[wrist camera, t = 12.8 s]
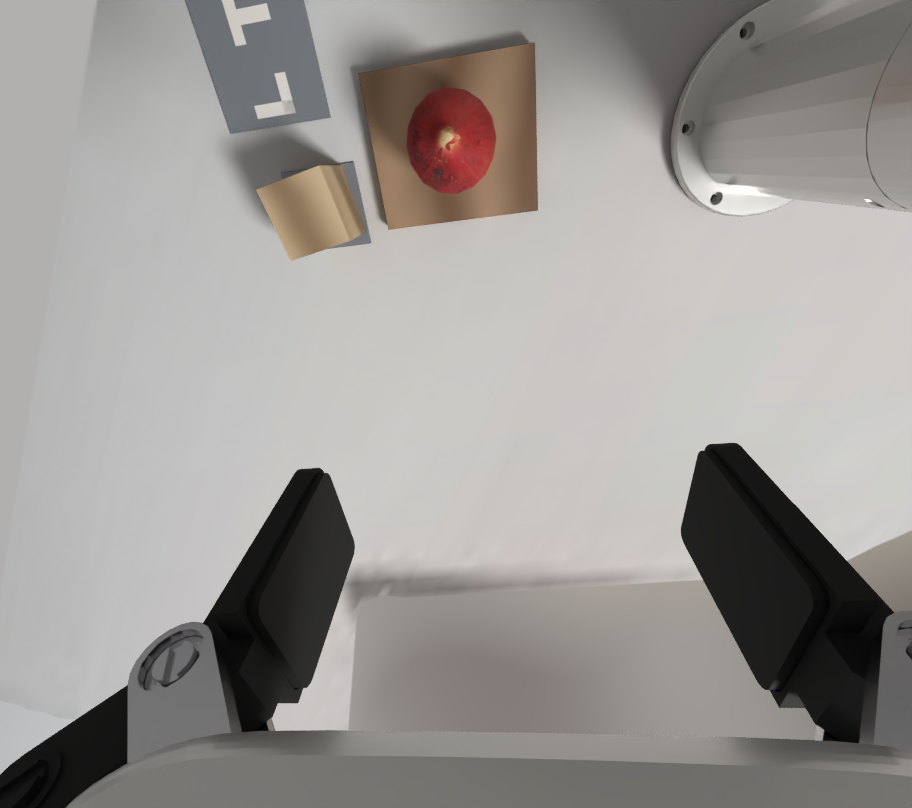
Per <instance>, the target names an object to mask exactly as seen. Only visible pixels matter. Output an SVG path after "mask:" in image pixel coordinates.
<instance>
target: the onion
mask: <svg viewBox="0 0 912 808" xmlns="http://www.w3.org/2000/svg"><path fill="white" fill-rule="evenodd" d="M496 138H497V137H496V132H495V127H494V123H493V118H492V116H491V114H490V113H489V111H488V110H487V108H486V107H485V105H484V104H483V102H482V101H481V100H480V99H479V98H477V97H476V96H474V95H473V94H471V93H470V92H468V91H467V90H465V89H457V88H450V87H444V88H442V89H439V90H436V91H433V92H430V93H428V94H427V95H426V96H425V98H424V99H423V100H422V101H421V102H420V103H419V104H418V105H417V106H416V107H415V109H414V112H413V114H412V117H411V120H410V122H409V125H408V131H407V142H406V147H407V151H408V155H409V159H410V163H411V166H412V167H413V169H414V170H415V172H416V173H417V175H418V176H419V178H420V179H421V181H422V182H423V183H424V184H426V185H427V186H429V187H431V188H432V189H434V190H435V191H437V192H439V193H449V194H458V193H461V192H463V191H465V190H468V189H470V188H472V187H474V186H475V185H476V184H477V183H478V182H479V181H480V180H481V179H482V178H483V177H484V176H485V175H486V173H487V171H488V169H489V166H490V164H491V162H492V160H493V158H494V152H495V145H496Z"/></svg>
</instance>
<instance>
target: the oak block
mask: <svg viewBox="0 0 912 808" xmlns="http://www.w3.org/2000/svg"><path fill="white" fill-rule="evenodd" d="M256 191H257V193H258V195H259V197H260V199H261V201H262V203H263V205H264V207H265V209H266V211H267V213H268V215H269V217H270V219H271V222H272V224H273V226H274V228H275V230H276V232H277V234H278V236H279V238H280V240H281V242H282V244H283V246H284V248H285V250H286V252H287V254H288V256H289V258H290V260H291V261H292V260H295V259H298V258H301V257H304V256H307V255H310V254H313V253H316V252H319V251H322V250H325V249H328V248H331V247H334V246H337V245H340V244H343V243H345V242H348V241H351V240H353V239H354V238H356V237H358V236H360V235H361V234H363V233H365V232H367V230H366V228H365V225H364V222H363V220H362V217H361V215H360V212H359V209H358V207H357V204H356V202H355V199H354V196H353V194H352V191H351V189H350V186H349V184H348V181H347V178H346V176H345V173H344V171H343V168H342V165H319V166H316V167H314V168H311V169H308V170H306V171H303V172H301V173H298V174H295V175H293V176H290V177H288V178H285V179H282V180H280V181H277V182H275V183H272V184H270V185H267V186H264V187H262V188H259V189H257V190H256Z"/></svg>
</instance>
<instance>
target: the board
mask: <svg viewBox="0 0 912 808" xmlns="http://www.w3.org/2000/svg"><path fill="white" fill-rule="evenodd" d="M358 74H359V80H360V85H361V90H362V95H363V100H364V105H365V111H366V116H367V121H368V126H369V131H370V136H371V142H372V147H373V152H374V157H375V162H376V167H377V173H378V178H379V183H380V188H381V193H382V199H383V204H384V209H385V214H386V219H387V224H388V230H389V229H397V228H405V227H413V226H420V225H428V224H436V223H444V222H452V221H459V220H467V219H475V218H483V217H490V216H498V215H506V214H514V213H521V212H529V211H537V210H538V191H537V136H536V80H535V43H529V44H523V45H518V46H512V47H506V48H501V49H495V50H489V51H484V52H478V53H472V54H467V55H461V56H455V57H449V58H444V59H438V60H432V61H427V62H421V63H415V64H410V65H404V66H398V67H393V68H387V69H381V70H375V71H370V72H364V73H358ZM444 87H450V88H457V89H465V90H467V91H468V92H470V93H471V94H473V95H474V96H476V97H477V98H479V99H480V100H481V101H482V102H483V104H484V105H485V107H486V108H487V110H488V111H489V113H490V114H491V116H492V118H493V123H494V127H495V132H496V137H497V138H496V145H495V152H494V158H493V160H492V162H491V164H490V166H489V169H488V171H487V173H486V175H485V176H484V177H483V178H482V179H481V180H480V181H479V182H478V183H477V184H476V185H475V186H474V187H472V188H470V189H468V190H465V191H463V192H461V193H458V194H449V193H439V192H437V191H435V190H434V189H432V188H431V187H429V186H427V185H426V184H424V183H423V182H422V181H421V179H420V178H419V176H418V175H417V173H416V172H415V170H414V169H413V167H412V166H411V163H410V159H409V155H408V151H407V147H406V142H407V131H408V125H409V122H410V120H411V117H412V114H413V112H414V109H415V107H416V106H417V105H418V104H419V103H420V102H421V101H422V100H423V99H424V98H425V96H426V95H427V94H428V93H430V92H433V91H436V90H439V89H442V88H444Z"/></svg>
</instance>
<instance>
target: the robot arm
mask: <svg viewBox="0 0 912 808" xmlns="http://www.w3.org/2000/svg"><path fill="white" fill-rule="evenodd" d="M740 30H742V31H743V36H742V38H741V37H740ZM683 125H686V128H687V129H686V131H685V132H684V133H682V127H683ZM671 157H672V162H673V168H674V172H675V174H676V177H677V179H678V181H679V184H680V186H681V187H682V189H683V190H684V191H685V193H686V194H687V195H688V197H689V198H690V199H692V200H693V201H694V202H695V203H697V204H698V205H699V206H700V207H703V208H705V209H707V210H709V211H711V212H714V213H718V214H722V215H728V216H740V217H742V216H751V215H759V214H762V213H765V212H768V211H772V210H775V209H777V208H780V207H782V206H784V205H786V204H788V203H790V202H792V201H794V200H804V201H813V202H822V203H831V204H841V205H850V206H859V207H868V208H877V209H886V210H895V211H904V212H912V0H770V1H768V2H766V3H764V4H762V5H760V6H759V7H757V8H755V9H754V10H752V11H751V12H749V13H747V14H746V15H744V16H743V17H741V18H740V19H739V20H737V21H736V22H735V23H734V24H733V25H732V26H730V27H729V28H728V29H727V30H726V31H725V32H723V33H722V34H721V35H720V36H719V37H718V39H717V40H716V41H715V42H714V43H713V44H712V45H711V47H710V48H709V49H708V50H707V51H706V52H705V54H704V55H703V57H702V58H701V60H700V61H699V63H698V64H697V66H696V67H695V69H694V70H693V72H692V73H691V75H690V77H689V79H688V81H687V83H686V85H685V87H684V89H683V92H682V94H681V96H680V99H679V102H678V105H677V109H676V112H675V115H674V120H673V126H672V132H671ZM712 195H714V198H713V200H712V201H710V198H711V196H712ZM681 536H682V540H683V542H684V544H685V546H686V548H687V550H688V552H689V554H690V556H691V558H692V560H693V561H694V563H695V565H696V567H697V569H698V571H699V573H700V575H701V577H702V578H703V580H704V582H705V584H706V586H707V588H708V590H709V592H710V593H711V595H712V597H713V599H714V601H715V603H716V605H717V607H718V609H719V610H720V612H721V614H722V616H723V618H724V620H725V622H726V624H727V625H728V627H729V629H730V631H731V633H732V635H733V637H734V639H735V641H736V642H737V644H738V646H739V648H740V650H741V652H742V654H743V655H744V657H745V659H746V661H747V663H748V665H749V667H750V669H751V671H752V672H753V674H754V676H755V678H756V680H757V682H758V683H759V684H760V686H761V687H762V688H764V689H765V690H770V692H771V693H772V695H773V697H774V699H775V701H776V702H777V704H778V706H779V708H806V709H807V711H808V712H809V714H810V716H811V718H812V719H813V721H814V723H815V724H816V725H817V728H816V734H815V739H814V740H790V739H766V738H741V737H698V736H697V737H696V736H653V735H651V736H650V735H607V734H549V733H491V732H422V731H336V730H323V731H275V728H274V725H273V721H272V717H273V714H274V712H275V709H276V706H277V704H278V703H298V702H299V699H300V696H301V693H302V690H303V688H307V687H308V686H309V684H310V683H311V681H312V678H313V675H314V672H315V669H316V666H317V663H318V660H319V657H320V654H321V651H322V648H323V645H324V642H325V639H326V636H327V633H328V630H329V627H330V624H331V621H332V618H333V615H334V612H335V609H336V606H337V603H338V600H339V597H340V594H341V591H342V588H343V585H344V582H345V579H346V576H347V573H348V570H349V567H350V564H351V561H352V558H353V555H354V549H355V545H354V540H353V537H352V534H351V531H350V529H349V526H348V523H347V521H346V518H345V515H344V512H343V510H342V507H341V504H340V502H339V499H338V496H337V493H336V491H335V488H334V485H333V483H332V480H331V477H330V475H329V474H328V473H324V472H323V470H322V469H321V468H312V469H299V470H297V471H296V472H295V474H294V476H293V477H292V479H291V480H290V482H289V484H288V485H287V487H286V489H285V490H284V492H283V494H282V495H281V497H280V498H279V500H278V502H277V503H276V505H275V507H274V508H273V510H272V512H271V513H270V515H269V516H268V518H267V520H266V521H265V523H264V525H263V526H262V528H261V529H260V531H259V533H258V534H257V536H256V538H255V539H254V541H253V543H252V544H251V546H250V547H249V549H248V551H247V552H246V554H245V556H244V557H243V559H242V561H241V562H240V564H239V565H238V567H237V569H236V570H235V572H234V574H233V575H232V577H231V579H230V580H229V582H228V583H227V585H226V587H225V588H224V590H223V592H222V593H221V595H220V597H219V598H218V600H217V601H216V603H215V605H214V606H213V608H212V610H211V611H210V613H209V615H208V616H207V618H206V619H205V621H204V623H199V622H190V623H185V624H181V625H179V626H177V627H175V628H173V629H170V630H168V631H167V632H166V633H164V634H163V635H161V636H160V637H158V638H157V639H156V640H155V641H154V642H153V643H152V644H150V645H149V646H148V647H147V648H146V649H145V650H144V652H143V653H142V654H141V656H140V657H139V658H138V660H137V661H136V663H135V665H134V667H133V669H132V671H131V673H130V676H129V681H128V685H127V686H126V687H124V688H123V689H121V690H120V691H118V692H117V693H115V694H114V695H112V696H111V697H109V698H108V699H106V700H105V701H103V702H102V703H100V704H99V705H97V706H96V707H94V708H93V709H91V710H90V711H88V712H87V713H85V714H84V715H82V716H81V717H79V718H78V719H76V720H75V721H73V722H72V723H70V724H69V725H67V726H66V727H65V728H63V729H62V730H60V731H58V732H57V733H55V734H54V735H52V736H51V737H50V738H48V739H47V740H45V741H44V742H42V743H41V744H39V745H38V746H36V747H35V748H33V749H32V750H30V751H29V752H27V753H26V754H24V755H23V756H22V757H20V759H18V760H16V761H15V762H14V763H13V764H11V765H10V766H9V767H8V768H7V769H6V770H5V771H4V772H3V773H2V774H1V775H0V808H912V611H901V612H895V613H894V612H893V611H892V610H891V609H890V608H889V606H888V605H887V604H886V603H885V602H884V601H883V600H882V599H881V598H880V597H879V596H878V594H877V593H876V592H875V591H874V590H873V589H872V588H871V587H870V586H869V585H868V584H867V583H866V582H865V580H864V579H863V578H862V577H861V576H860V575H859V574H858V573H857V572H856V571H855V569H854V568H853V567H852V566H851V565H850V564H849V563H848V562H847V561H846V560H845V559H844V557H843V556H842V555H841V554H840V553H839V552H838V551H837V550H836V549H835V548H834V547H833V546H832V544H831V543H830V542H829V541H828V540H827V539H826V538H825V537H824V536H823V535H822V534H821V532H820V531H819V530H818V529H817V528H816V527H815V526H814V525H813V524H812V523H811V522H810V520H809V519H808V518H807V517H806V516H805V515H804V514H803V513H802V512H801V511H800V510H799V508H798V507H797V506H796V505H795V504H794V503H792V502H791V501H790V499H789V498H788V497H787V496H786V495H785V494H784V493H783V492H782V491H781V490H780V489H779V487H778V486H777V485H776V484H775V483H774V482H773V481H772V480H771V479H770V478H769V476H768V475H767V474H766V473H765V472H764V471H763V470H762V469H761V468H760V467H759V466H758V464H757V463H756V462H755V461H754V460H753V459H752V458H751V457H750V456H749V455H748V454H747V452H746V451H745V450H744V449H743V448H742V447H741V446H740V445H739V444H737V443H724V444H710V445H708V446H707V447H706V448H705V451H700V452H699V454H698V457H697V461H696V465H695V470H694V474H693V478H692V483H691V487H690V491H689V496H688V500H687V504H686V509H685V513H684V517H683V522H682V526H681Z"/></svg>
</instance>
